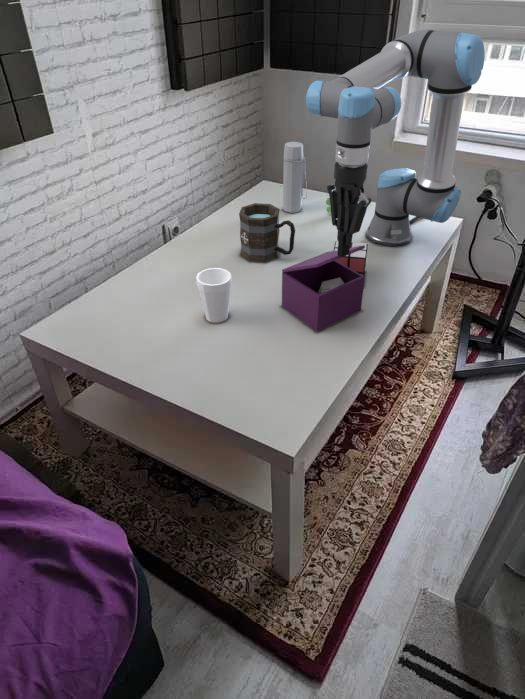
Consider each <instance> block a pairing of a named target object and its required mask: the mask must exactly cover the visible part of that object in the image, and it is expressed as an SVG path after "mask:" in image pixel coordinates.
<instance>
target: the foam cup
mask: <svg viewBox="0 0 525 699" xmlns="http://www.w3.org/2000/svg"><path fill="white" fill-rule="evenodd" d="M232 277H233V276H232V274H231V272H230V271H229V270H227V269H225V268H221V267H208V268H206V269H203V270H201V271H199V272H198V273H197V274H196V276H195V281H196V286H197V288H198V293H199V296H200V301H201V304H202V308H203V312H204V316H205V319H206V321H208V322H209V323H213V324H217V323H222V322H225V321H226V320H227V319H228V317H229V309H230V299H231V288H232V284H233V280H232Z"/></svg>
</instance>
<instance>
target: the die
mask: <svg viewBox="0 0 525 699" xmlns="http://www.w3.org/2000/svg"><path fill="white" fill-rule="evenodd" d="M342 284H345V283H344V282H343V281H342V279H341V278H336V279H332V280H327V281H323V282H322V284H321V287H320V289H319V291H318V294H322V293H324V292H326V291H328V290H331V289H333V288H335V287H338V286H340V285H342Z"/></svg>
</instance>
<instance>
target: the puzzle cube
mask: <svg viewBox="0 0 525 699" xmlns="http://www.w3.org/2000/svg"><path fill="white" fill-rule="evenodd" d="M363 245H364V246H365V248H364V249H362V250H359V251H357V252H354V253H352V254H349V255H347V256H344V257H342V258H339V259H337V261H338V262H340V263H342V264H344V265H345V266H347V267H349V268H351V269H352V270H354V271H356V272H358V273H359V274H361V275H363V276H365V272H366V264H367V263H366V262H367V256H368V248H369V247H368V246H369V243H368V242H354V241H352V243H351V245H350V248H352V247H358V246H363ZM333 246H334V247H333V250H332V251H336V250H338V241H337V240H335V241H334V245H333Z"/></svg>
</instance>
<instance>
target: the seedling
mask: <svg viewBox="0 0 525 699" xmlns="http://www.w3.org/2000/svg"><path fill="white" fill-rule="evenodd" d="M325 204H326V205H327V207H326V212H327V213H328V214H329V215H331V207H330V197H328V198H326V200H325Z"/></svg>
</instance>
